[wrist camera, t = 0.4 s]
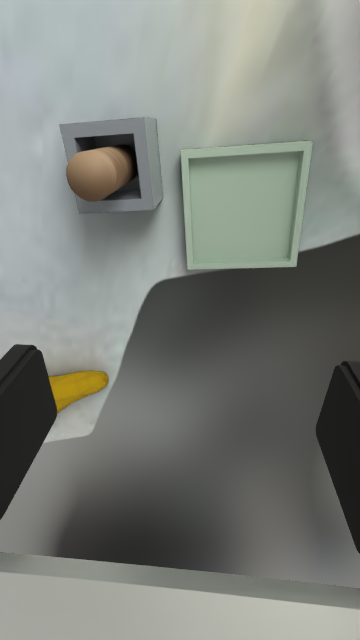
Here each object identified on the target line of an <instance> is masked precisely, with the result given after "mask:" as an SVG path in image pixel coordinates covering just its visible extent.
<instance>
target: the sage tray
mask: <svg viewBox="0 0 360 640" xmlns="http://www.w3.org/2000/svg"><path fill="white" fill-rule="evenodd" d="M312 144H313V141H295V142H281V143H266V144H252V145H238V146H224V147H210V148H195V149H182V150H181V167H182V184H183V202H184V219H185V236H186V253H187V270H192V269H231V268H267V267H268V268H269V267H296V264H297V257H298V250H299V242H300V235H301V227H302V220H303V212H304V204H305V197H306V189H307V182H308V174H309V167H310V159H311V152H312Z"/></svg>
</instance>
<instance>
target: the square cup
mask: <svg viewBox="0 0 360 640" xmlns="http://www.w3.org/2000/svg"><path fill="white" fill-rule="evenodd" d="M60 129H61V134H62V138H63V143H64V147H65V152H66V156H67V161H68V162H69V160H70V159H71V158H72V157H73V156H74V155H75V154H77V153H79V152H82V151H88V150H93V149H98V148H104V147H109V146H114V145H120V144H124V145H128V146H130V147H131V148H133V149H134V150H135V151H136V157H137V165H138V175H137V176H136V178H134V179H133V180H132V181H130V182H129V183H127V184H125V185H124V186H122V187H121V188H119V189H118V190H116V191H115V192H113V193H111V194H110V195H108V196H107V197H105V198H104V199H102V200H100V201H96V202H90V201H86V200H83V199H81V198H80V197H78V196H77V195H76V194H75V196H76V200H77V205H78V209H79V214H80V213H101V212H121V211H142V210H154V209H155V208H156V207H157V205H158V204H159V202H160V201H161V200H162V198H163V190H162V179H161V168H160V157H159V146H158V134H157V123H156V119H152V118H145V117H143V118H131V119H119V120H107V121H95V122H84V123H72V124H60Z"/></svg>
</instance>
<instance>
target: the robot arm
mask: <svg viewBox="0 0 360 640" xmlns="http://www.w3.org/2000/svg"><path fill="white" fill-rule="evenodd" d="M56 417H57V406H56V403H55V399H54V395H53V392H52V388H51V384H50V381H49V377H48V373H47V370H46V366H45V362H44V359H43V355H42V352H41V351H40V350H37V348H36V347H35V346H34V345H19V344H17V345H14V346H13V347H12V348H11V349H10V350H9V351H8V352H7V353H6V354H5V355H4V356H3V357H2V359H1V360H0V519H1V518H2V517H3V515H4V513H5V512H6V510H7V508H8V506H9V504H10V502H11V501H12V499H13V497H14V495H15V493H16V491H17V490H18V488H19V485H20V484H21V482H22V480H23V478H24V477H25V475H26V473H27V471H28V469H29V468H30V466H31V464H32V462H33V460H34V458H35V456H36V455H37V453H38V451H39V449H40V447H41V445H42V444H43V442H44V440H45V438H46V436H47V434H48V432H49V431H50V429H51V427H52V425H53V423H54V421H55V419H56ZM316 435H317V439H318V441H319V445H320V447H321V450H322V453H323V456H324V459H325V462H326V464H327V467H328V470H329V473H330V476H331V478H332V481H333V484H334V487H335V489H336V492H337V495H338V498H339V501H340V504H341V507H342V509H343V512H344V515H345V518H346V521H347V524H348V527H349V529H350V532H351V535H352V538H353V541H354V543H355V546H356V549H357V551H358V552H359V553H360V362H355V361H354V362H353V361H343V362H342V363H341V365H339V366H338V365H337V366H336V367H335V369H334V372H333V375H332V378H331V381H330V384H329V388H328V391H327V394H326V397H325V400H324V403H323V406H322V410H321V412H320V416H319V419H318V422H317V425H316ZM0 640H360V589H359V588H352V587H344V586H336V585H327V584H319V583H309V582H300V581H290V580H281V579H271V578H262V577H261V578H260V577H252V576H242V575H233V574H223V573H213V572H203V571H193V570H183V569H173V568H163V567H153V566H142V565H132V564H122V563H111V562H100V561H91V560H80V559H70V558H59V557H48V556H37V555H26V554H15V553H5V552H0Z"/></svg>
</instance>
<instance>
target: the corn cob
mask: <svg viewBox="0 0 360 640" xmlns="http://www.w3.org/2000/svg"><path fill="white" fill-rule="evenodd" d="M48 377H49V381H50V384H51V388H52V392H53V395H54V399H55V403H56V406H57V413H59V412H60V411H61V410H63V409H64V408H66V407H67V406H68V405H70V404H71V403H73V402H75V401H77V400H79V399H81V398H84V397H86V396H88V395H91V394H93V393H96V392H99V391H100V390H102V389H103V388H104V387H106V386H107V384H108V381H109V378H108V375H107V374H106V373H105V372H102V371H79V372H74V373H70V374H65V375H61V376H48Z"/></svg>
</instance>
